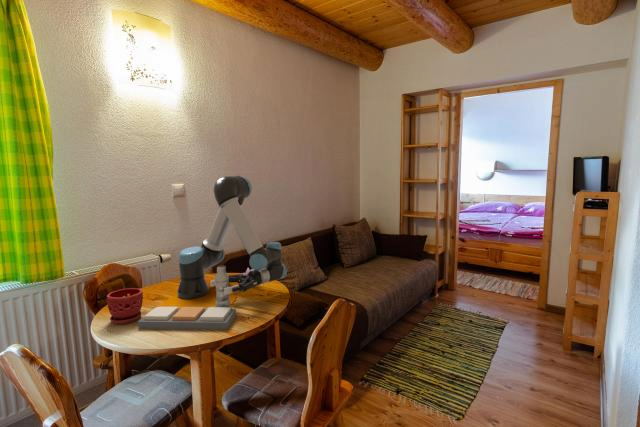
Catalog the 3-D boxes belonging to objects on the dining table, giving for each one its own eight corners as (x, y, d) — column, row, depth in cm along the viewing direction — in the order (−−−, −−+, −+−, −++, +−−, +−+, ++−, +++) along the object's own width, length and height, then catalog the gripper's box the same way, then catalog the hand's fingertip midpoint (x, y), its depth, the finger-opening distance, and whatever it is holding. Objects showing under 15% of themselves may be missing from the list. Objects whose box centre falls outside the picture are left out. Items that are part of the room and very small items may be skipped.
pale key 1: (157, 311, 144) (156, 306, 143) (178, 311, 143) (178, 306, 143) (144, 320, 134) (144, 316, 134) (167, 321, 134) (167, 316, 134)
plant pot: (140, 323, 137) (138, 296, 136) (104, 328, 134) (101, 299, 132) (147, 311, 150) (145, 285, 148) (114, 314, 146) (112, 288, 145)
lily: (240, 283, 188) (233, 271, 183) (259, 274, 191) (252, 262, 185) (243, 296, 178) (236, 284, 173) (264, 286, 181) (257, 274, 176)
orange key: (183, 311, 143) (182, 306, 143) (204, 311, 143) (204, 307, 142) (172, 321, 134) (172, 316, 133) (195, 321, 133) (195, 316, 133)
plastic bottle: (233, 307, 153) (231, 265, 150) (224, 313, 147) (222, 269, 144) (221, 305, 155) (219, 264, 153) (212, 311, 149) (210, 268, 146)
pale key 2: (209, 311, 143) (208, 307, 142) (230, 311, 142) (230, 307, 142) (200, 321, 133) (200, 316, 133) (223, 321, 133) (223, 317, 133)
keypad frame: (155, 314, 146) (155, 308, 145) (236, 315, 144) (236, 309, 144) (138, 328, 133) (137, 321, 132) (226, 329, 131) (226, 322, 131)
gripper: (273, 291, 153) (231, 303, 139) (245, 278, 172) (205, 288, 157) (272, 275, 153) (230, 286, 138) (244, 264, 171) (205, 273, 156)
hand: (217, 287), depth 148 cm, fingers open, 13 cm apart
